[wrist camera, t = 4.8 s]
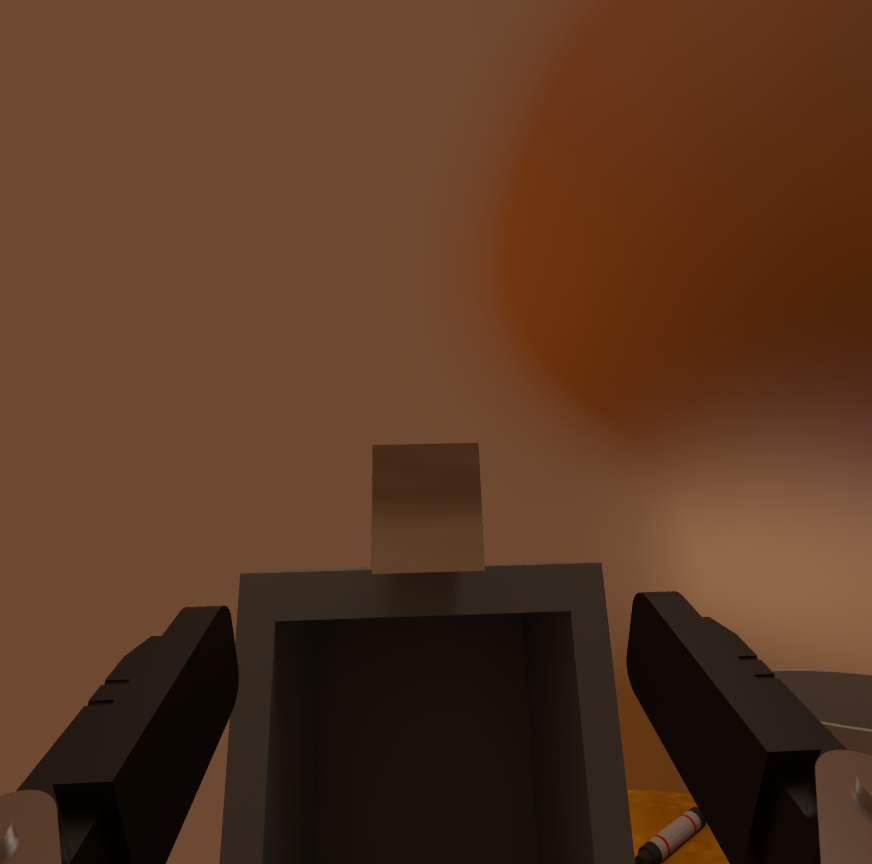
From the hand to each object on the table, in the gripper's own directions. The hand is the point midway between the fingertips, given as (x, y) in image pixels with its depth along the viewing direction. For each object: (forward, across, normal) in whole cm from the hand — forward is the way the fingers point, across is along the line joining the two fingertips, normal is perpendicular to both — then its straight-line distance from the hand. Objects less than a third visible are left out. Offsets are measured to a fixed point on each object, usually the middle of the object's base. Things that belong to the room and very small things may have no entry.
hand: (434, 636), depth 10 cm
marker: (+31, -28, +55) cm, 69 cm away
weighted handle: (+12, 0, +6) cm, 13 cm away
